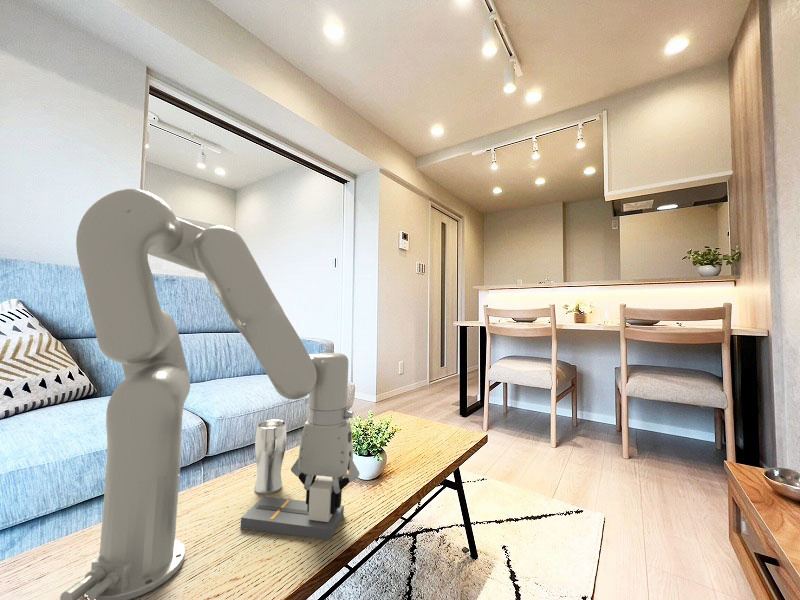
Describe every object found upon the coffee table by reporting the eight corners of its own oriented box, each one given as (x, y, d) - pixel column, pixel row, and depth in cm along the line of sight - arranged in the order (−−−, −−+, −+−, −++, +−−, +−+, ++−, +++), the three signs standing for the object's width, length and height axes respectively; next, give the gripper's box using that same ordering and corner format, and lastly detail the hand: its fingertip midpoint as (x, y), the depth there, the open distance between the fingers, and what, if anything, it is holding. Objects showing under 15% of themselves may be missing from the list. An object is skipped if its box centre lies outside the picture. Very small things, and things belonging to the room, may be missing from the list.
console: (329, 540, 62) (330, 528, 62) (240, 528, 64) (241, 517, 64) (343, 515, 70) (343, 505, 70) (263, 505, 72) (263, 495, 72)
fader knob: (328, 522, 63) (329, 489, 64) (308, 519, 64) (309, 487, 64) (336, 507, 68) (338, 477, 69) (318, 505, 69) (319, 475, 69)
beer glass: (290, 484, 81) (293, 422, 82) (267, 498, 75) (271, 430, 76) (268, 478, 84) (272, 417, 85) (245, 490, 78) (249, 425, 79)
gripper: (372, 413, 70) (368, 503, 69) (296, 407, 72) (292, 494, 71) (363, 424, 62) (359, 526, 61) (279, 417, 65) (274, 515, 64)
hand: (323, 508), depth 66 cm, fingers closed on fader knob, 4 cm apart
